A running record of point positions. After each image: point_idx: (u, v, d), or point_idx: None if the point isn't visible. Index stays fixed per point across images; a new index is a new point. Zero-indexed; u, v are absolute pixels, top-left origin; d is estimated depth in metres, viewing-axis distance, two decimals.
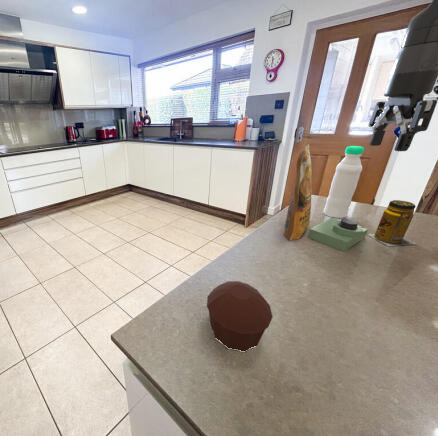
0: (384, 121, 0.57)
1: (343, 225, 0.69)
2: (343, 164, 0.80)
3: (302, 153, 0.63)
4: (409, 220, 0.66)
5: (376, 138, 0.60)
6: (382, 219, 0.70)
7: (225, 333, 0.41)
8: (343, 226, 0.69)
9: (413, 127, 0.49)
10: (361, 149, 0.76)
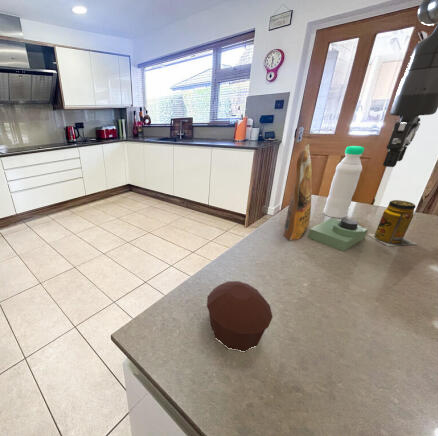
0: None
1: (343, 225, 0.69)
2: (343, 164, 0.80)
3: (302, 153, 0.63)
4: (409, 220, 0.66)
5: None
6: (382, 219, 0.70)
7: (225, 333, 0.41)
8: (343, 226, 0.69)
9: (387, 145, 0.55)
10: (361, 149, 0.76)
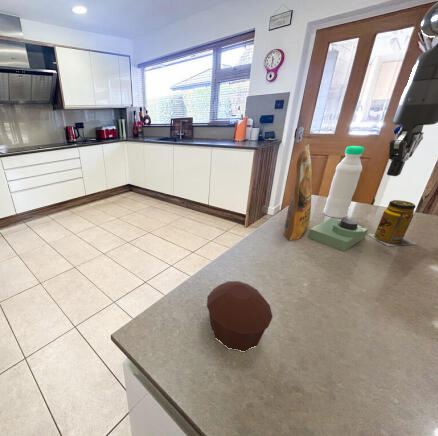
0: None
1: (343, 225, 0.69)
2: (343, 164, 0.80)
3: (302, 153, 0.63)
4: (409, 220, 0.66)
5: None
6: (382, 219, 0.70)
7: (225, 333, 0.41)
8: (343, 226, 0.69)
9: None
10: (361, 149, 0.76)
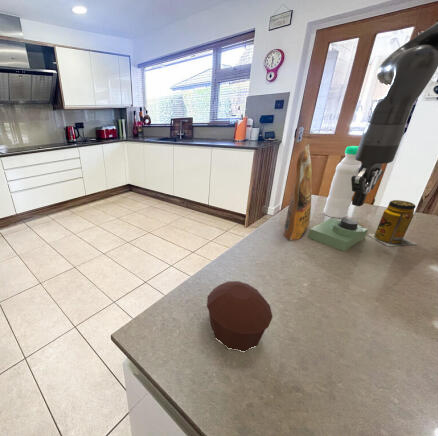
0: None
1: (343, 225, 0.69)
2: (343, 164, 0.80)
3: (302, 153, 0.63)
4: (409, 220, 0.66)
5: None
6: (382, 219, 0.70)
7: (225, 333, 0.41)
8: (343, 226, 0.69)
9: None
10: None
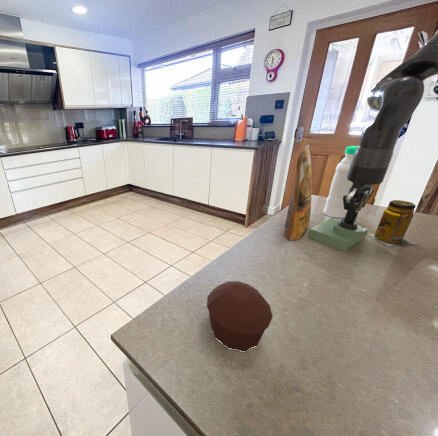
0: None
1: (343, 226, 0.70)
2: (343, 164, 0.80)
3: (302, 153, 0.63)
4: (409, 220, 0.66)
5: None
6: (382, 219, 0.70)
7: (225, 333, 0.41)
8: (343, 227, 0.70)
9: None
10: None
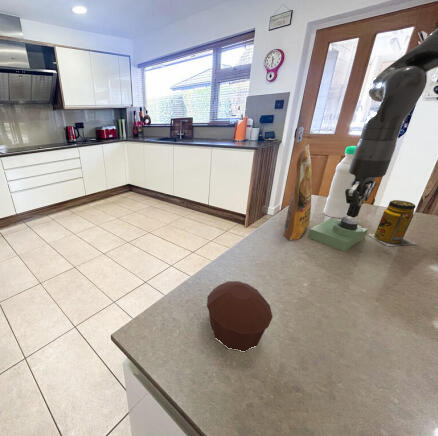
0: None
1: (343, 225, 0.69)
2: (343, 164, 0.80)
3: (302, 153, 0.63)
4: (409, 220, 0.66)
5: None
6: (382, 219, 0.70)
7: (225, 333, 0.41)
8: (343, 226, 0.69)
9: None
10: None
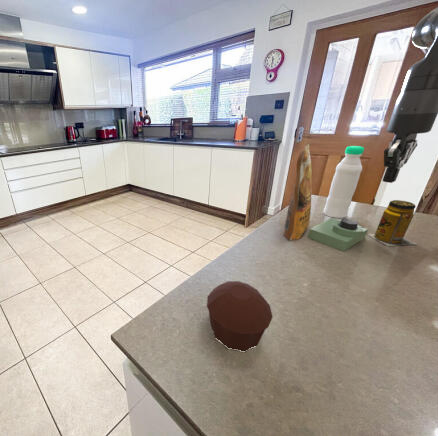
0: None
1: (343, 225, 0.69)
2: (343, 164, 0.80)
3: (302, 153, 0.63)
4: (409, 220, 0.66)
5: None
6: (382, 219, 0.70)
7: (225, 333, 0.41)
8: (343, 226, 0.69)
9: None
10: (361, 149, 0.76)
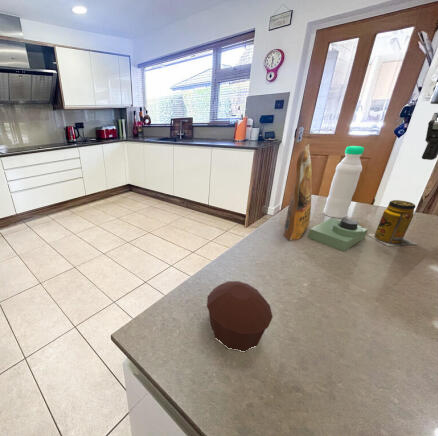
0: None
1: (343, 225, 0.69)
2: (343, 164, 0.80)
3: (302, 153, 0.63)
4: (409, 220, 0.66)
5: None
6: (382, 219, 0.70)
7: (225, 333, 0.41)
8: (343, 226, 0.69)
9: None
10: (361, 149, 0.76)
